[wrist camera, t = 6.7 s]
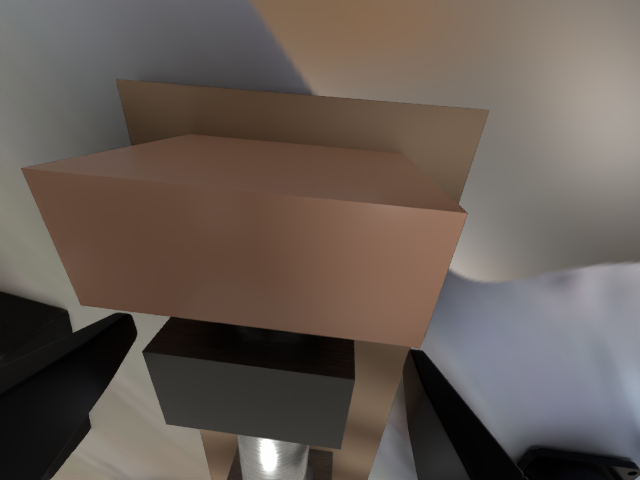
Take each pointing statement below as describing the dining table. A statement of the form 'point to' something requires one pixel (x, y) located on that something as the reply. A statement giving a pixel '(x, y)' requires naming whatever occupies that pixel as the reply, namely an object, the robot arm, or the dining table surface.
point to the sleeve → (316, 466)
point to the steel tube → (255, 389)
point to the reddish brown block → (254, 234)
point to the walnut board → (331, 131)
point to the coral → (35, 346)
